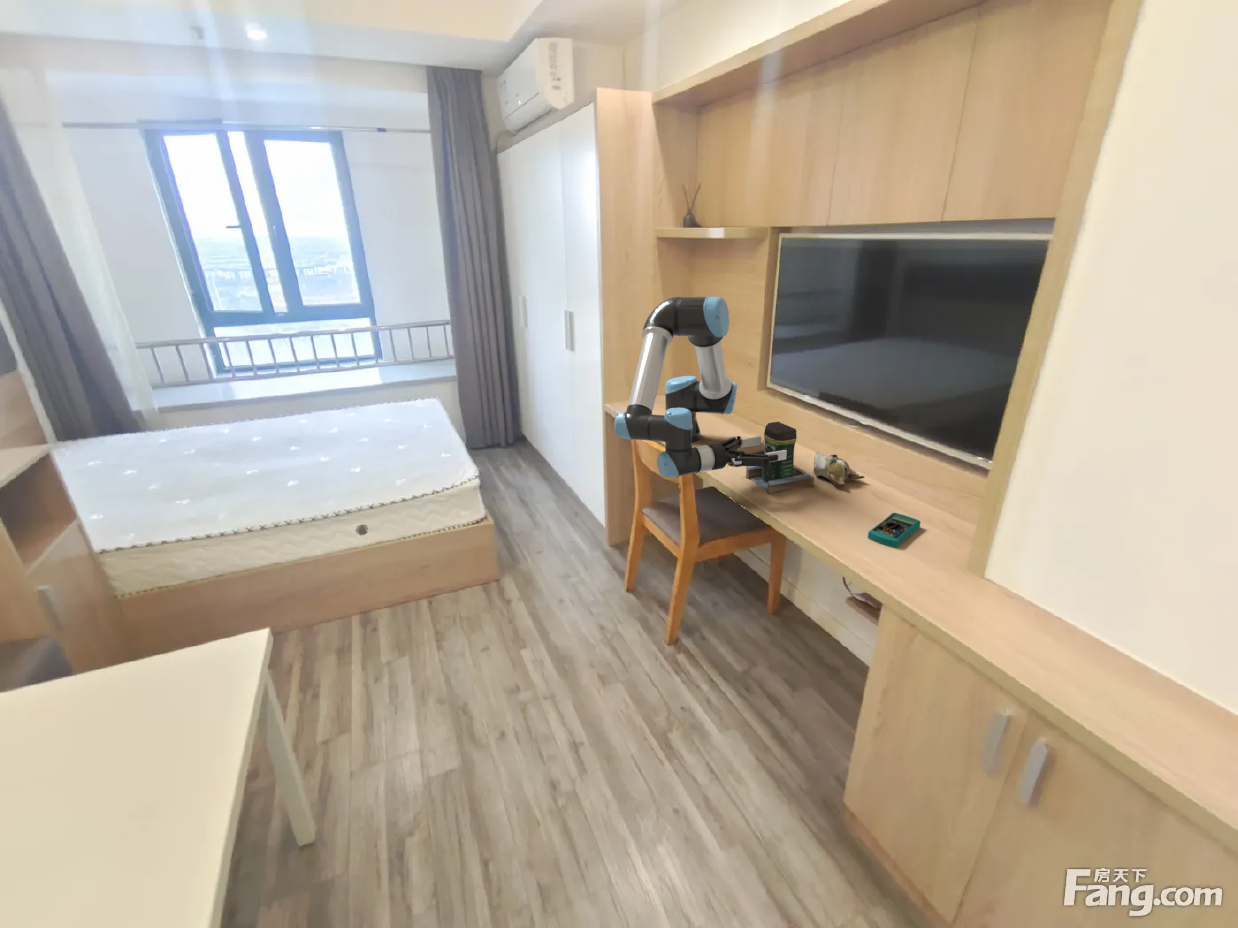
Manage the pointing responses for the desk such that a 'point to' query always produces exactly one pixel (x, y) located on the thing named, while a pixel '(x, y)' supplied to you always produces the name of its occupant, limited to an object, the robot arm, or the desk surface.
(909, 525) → the digital multimeter
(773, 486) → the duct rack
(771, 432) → the coffee jar
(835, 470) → the ceramic sculpture
